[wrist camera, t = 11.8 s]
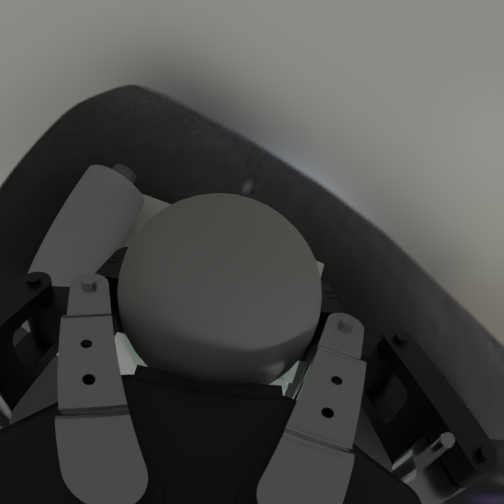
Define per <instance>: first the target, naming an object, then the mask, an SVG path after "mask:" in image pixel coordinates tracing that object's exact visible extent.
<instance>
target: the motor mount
mask: <svg viewBox="0 0 504 504" xmlns="http://www.w3.org/2000/svg"><path fill="white" fill-rule="evenodd" d="M135 180H136V176H135V174H134V172H133V171H132V170H131V169H129V168H128V167H126V166H125V165H122V164H115V165H114V166H113V168H112V169H110V168H108V167H105V166H102V165H91V166H90V167H89V168H88V169H87V171H86V172H85V173H84V175H83V176H82V178H81V179H80V180H79V182H78V183H77V185H76V186H75V188H74V189H73V191H72V192H71V194H70V196H69V197H68V199H67V200H66V202H65V203H64V205H63V207H62V208H61V210H60V212H59V213H58V215H57V217H56V218H55V220H54V222H53V224H52V225H51V227H50V229H49V231H48V233H47V235H46V236H45V238H44V240H43V242H42V244H41V246H40V248H39V250H38V252H37V254H36V256H35V258H34V260H33V262H32V264H31V267H30V269H29V271H28V273H32V272H44V273H47V274H48V275H50V277H51V281H52V286H63V287H70V284H71V282H72V280H73V279H74V278H76V277H78V276H80V275H83V274H95V273H96V271H97V270H98V269H99V268H100V267H101V266H102V265H103V264H104V263H105V262H106V261H107V260H108V258H109V257H111V255H112V254H113V253H114V252H115V251H116V250H118V249H121V248H123V247H129V246H130V244H131V242H132V241H133V239H134V237H135V235H136V234H137V233H138V232H139V230H140V229H141V228H142V227H143V226H144V225H145V224H146V223H147V221H148V220H149V219H151V218H152V217H153V216H155V215H156V214H157V213H159V212H160V211H161V210H162V209H164V208H166V207H168V206H170V205H171V204H169V203H166V202H163V201H160V200H158V199H155V198H152V197H150V196H147V195H144V194H142V193H140V192H139V190H138V189H137V188H136V187H135V186H134V185H133V183H134V182H135ZM316 263H317V267H318V270H319V274H320V278H321V275H322V271H323V267H324V264H323V263H321V262H318V261H316ZM28 273H27V274H28ZM21 326H22V327H23V328H24V329H25V330H27V331H28V333H29V332H30V331H31V330H30V327H29V324H28V321H26V322H24V323H23V324H22V325H21ZM114 338H115V345H116V351H117V357H118V362H119V368H120V373H121V375H127V374H134V373H135V370H136V367H137V364H138V365H142V366H146V367H148V366H147V365H146V364H145V363H144V362H143V361H142V359H141V358H140V357H139V356H138V355H137V353H136V352H135V351H134V349H133V347H132V345H131V343H130V342H129V340H128V338H127V336H126V334H123V333H119V332H117V334H116V336H115V337H114ZM57 355H58V353H57ZM298 364H299V361H297V362H296V363H295V364H294V366H293V367H292V368H291V369H290V370H289V371H288V372H286V373H285V374H284V375H282V376H281V377H280V378H278V379H277V380H275V381H274V382H272V383H271V384H269V385H282V392H283V396H284V395H285V392H286V389H287V388H288V383H289V382H290V383H292V382H293V379H294V376H295V373H296V370H297V367H298Z"/></svg>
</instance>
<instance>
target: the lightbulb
mask: <svg viewBox="0 0 504 504" xmlns="http://www.w3.org/2000/svg"><path fill="white" fill-rule="evenodd" d="M117 298H118V309H119V316H120V319H121V322H122V325H123V329H124V332H125V334H126V336H127V338H128V340H129V342H130V343H131V345H132V347H133V349H134V351H135V352H136V353H137V355H138V356H139V357H140V358H141V359H142V361H143V362H144V363H145V364H146V365H147V366H148V367H151V368H155V369H160V370H165V371H170V372H173V373H176V374H178V375H181V376H184V377H186V378H189V379H191V380H194V381H197V382H199V383H202V384H205V385H227V384H238V383H255V384H268V385H269V384H271V383H272V382H274V381H275V380H277V379H278V378H280V377H281V376H282V375H284V374H285V373H286V372H288V371H289V370H290V369H291V368H292V367H293V366H294V364H295V363H296V362H297V361H298V360H299V359H300V358H301V357H302V355H303V354H304V352H305V350H306V349H307V347H308V345H309V344H310V342H311V340H312V338H313V335H314V332H315V329H316V326H317V323H318V320H319V317H320V310H321V302H322V289H321V278H320V274H319V270H318V267H317V263H316V260H315V258H314V256H313V254H312V252H311V249H310V247H309V245H308V243H307V242H306V241H305V239H304V238H303V237H302V235H301V234H300V233H299V231H298V230H297V229H296V228H295V227H294V226H293V225H292V224H291V223H290V222H289V221H288V220H287V219H286V218H285V217H284V216H283V215H281V214H280V213H278V212H277V211H275V210H274V209H272V208H271V207H269V206H268V205H265V204H263V203H261V202H259V201H256V200H254V199H252V198H248V197H244V196H240V195H236V194H224V193H213V194H204V195H197V196H193V197H190V198H186V199H183V200H180V201H178V202H176V203H174V204H172V205H170V206H168V207H166V208H164V209H162V210H161V211H160V212H159V213H157V214H156V215H155V216H153V217H152V218H151V219H149V220H148V221H147V223H146V224H145V225H144V226H143V227H142V228H141V229H140V230H139V232H138V233H137V234H136V235H135V237H134V239H133V241H132V242H131V244H130V246H129V247H128V249H127V251H126V254H125V257H124V260H123V263H122V266H121V269H120V273H119V281H118V290H117Z"/></svg>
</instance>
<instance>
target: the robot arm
mask: <svg viewBox="0 0 504 504" xmlns="http://www.w3.org/2000/svg"><path fill="white" fill-rule="evenodd" d="M127 249H128V247H123V248H121V249H118V250H116V251H115V252H114V253H113V254H112V255H111V257H109V258H108V260H107V261H106V262H105V263H104V264H103V265H102V266H101V267H100V268H99V269H98V270H97V271H96V273H95V274H83V275H80V276H78V277H76V278H74V279H73V280H72V282H71V284H70V287H63V286H52V281H51V277H50V275H48V274H47V273H44V272H32V273H28V274H26V275H24V276H22V277H21V278H20V279H18V280H17V281H15V282H14V283H13V284H11V285H10V286H9V287H7V288H6V289H5V290H3V291H2V292H1V293H0V504H441V503H446V504H504V440H496V439H489V438H488V436H487V435H486V433H485V432H484V430H483V429H482V427H481V426H480V424H479V423H478V422H477V420H476V419H475V417H474V416H473V415H472V413H471V412H470V410H469V409H468V408H467V406H466V405H465V404H464V402H463V401H462V399H461V398H460V397H459V395H458V394H457V393H456V391H455V390H454V389H453V388H452V386H451V385H450V384H449V382H448V381H447V380H446V378H445V377H444V376H443V375H442V373H441V372H440V371H439V370H438V368H437V367H436V366H435V365H434V363H433V362H432V361H431V360H430V358H429V357H428V356H427V355H426V353H425V352H424V351H423V350H422V349H421V347H420V346H419V345H418V344H417V343H416V341H415V340H414V339H413V338H412V337H411V336H410V335H409V334H407V333H406V332H404V331H402V330H400V329H396V328H389V329H387V330H385V332H384V334H383V336H382V337H381V338H380V337H376V336H373V335H369V334H366V333H364V327H363V325H362V324H361V322H360V321H359V320H357V319H356V318H354V317H353V316H350V315H348V314H344V312H343V310H342V308H341V306H340V304H339V302H338V300H337V299H336V297H335V295H334V294H333V291H332V289H331V287H330V286H329V285H328V284H327V283H326V282H325V281H324V280H323V279H321V289H322V302H321V310H320V317H319V320H318V323H317V326H316V329H315V332H314V335H313V338H312V340H311V342H310V344H309V345H308V347H307V349H306V350H305V352H304V354H303V355H302V357H301V358H300V359H299V360H298V361H307V366H306V368H305V370H304V373H303V375H302V377H301V380H300V382H299V384H298V387H297V389H296V391H295V393H294V396H293V398H289V397H285V396H283V392H282V385H268V384H255V383H238V384H227V385H205V384H202V383H199V382H197V381H194V380H191V379H189V378H186V377H184V376H181V375H178V374H176V373H173V372H170V371H165V370H160V369H155V368H151V367H146V366H142V365H138V364H137V367H136V370H135V373H134V374H127V375H121V373H120V368H119V362H118V357H117V351H116V345H115V338H114V337H115V336H116V334H117V332H119V333H123V334H125V332H124V329H123V325H122V322H121V319H120V316H119V309H118V298H117V290H118V281H119V273H120V269H121V266H122V263H123V260H124V257H125V254H126V251H127ZM26 321H28V324H29V327H30V330H31V331H30V332H29V333H28V334H27V335H26V336H25V337H24V338H23V339H22V340H21V341H20V342H19V343H18V344H17V345H16V346H15V347H14V346H13V343H12V339H13V335H14V333H15V331H16V330H17V329H18V328H19V327H20V326H21V325H22V324H23V323H24V322H26ZM57 353H58V402H56V403H55V404H53V405H51V406H48V407H46V408H44V409H42V410H40V411H38V412H36V413H34V414H32V415H30V416H28V417H26V418H24V419H22V420H20V421H17V422H15V423H13V424H10V421H11V411H12V410H13V409H14V407H15V406H16V405H17V403H18V402H19V401H20V399H21V398H22V397H23V395H24V394H25V393H26V391H27V390H28V389H29V388H30V386H31V385H32V384H33V383H34V381H35V380H36V379H37V377H38V376H39V375H40V374H41V373H42V371H43V370H44V369H45V368H46V366H47V365H48V364H49V363H50V362H51V360H52V359H53V358H54V357H55V356H56V355H57ZM397 376H398V378H399V379H400V381H401V382H402V384H403V385H404V387H405V388H406V390H407V393H408V398H407V401H406V403H405V404H404V406H403V405H402V403H401V401H400V400H399V398H398V397H397V395H396V393H395V392H394V390H393V389H392V387H391V385H392V383H393V382H394V380H395V379H396V378H397ZM361 404H362V406H363V408H364V410H365V412H366V414H367V416H368V418H369V420H370V421H371V423H372V425H373V427H374V429H375V431H376V433H377V435H378V437H379V439H380V441H381V443H382V445H383V447H384V449H385V450H386V452H387V454H388V456H389V458H390V460H391V462H392V464H393V467H392V473H391V472H389V471H388V470H387V469H385V468H384V467H383V466H381V465H380V464H379V463H377V462H376V461H375V460H374V459H372V458H371V457H370V456H368V455H367V454H366V453H365V452H363V451H362V450H361V449H360V448H358V447H357V446H356V445H355V444H353V441H354V436H355V431H356V427H357V422H358V416H359V411H360V405H361Z"/></svg>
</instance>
